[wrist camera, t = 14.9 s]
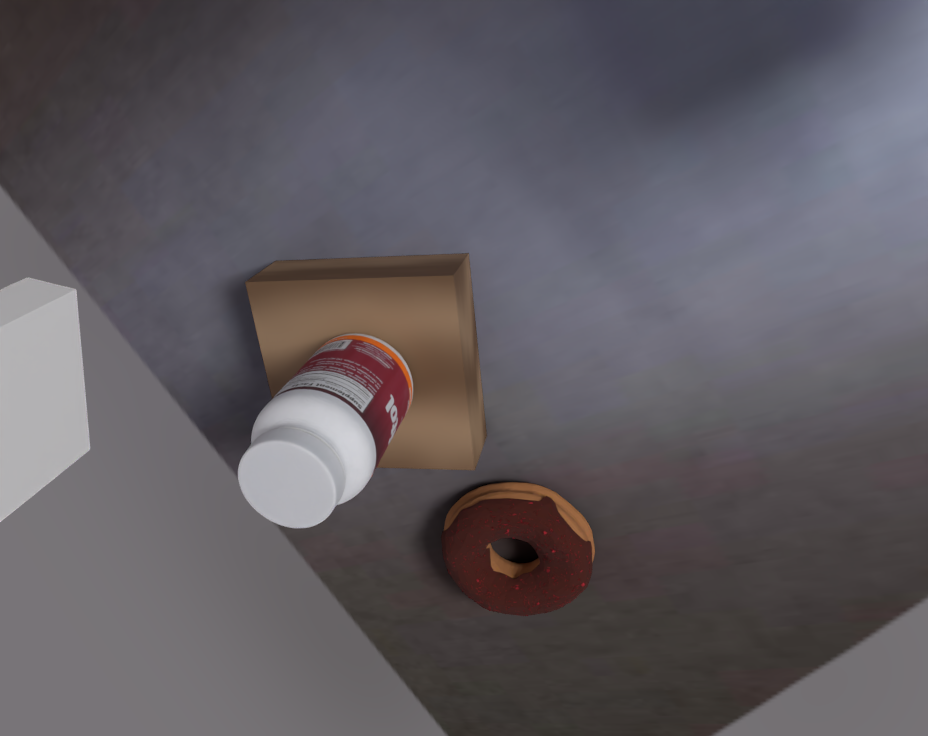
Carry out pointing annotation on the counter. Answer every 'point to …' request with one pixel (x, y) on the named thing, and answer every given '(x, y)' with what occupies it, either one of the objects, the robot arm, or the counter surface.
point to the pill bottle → (325, 430)
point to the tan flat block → (386, 340)
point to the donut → (528, 519)
